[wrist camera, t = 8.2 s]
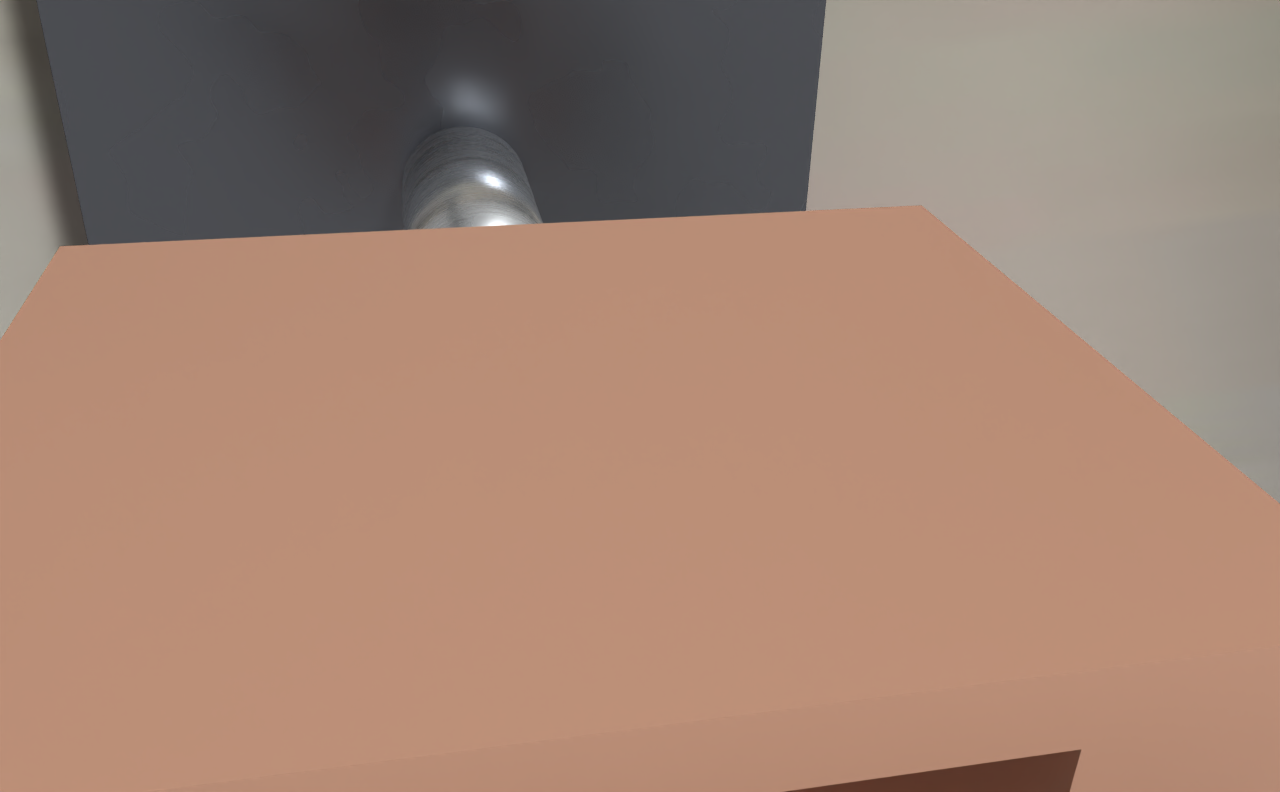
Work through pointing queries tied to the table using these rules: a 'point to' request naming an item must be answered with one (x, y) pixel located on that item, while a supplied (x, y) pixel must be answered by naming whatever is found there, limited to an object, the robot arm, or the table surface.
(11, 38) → the table surface
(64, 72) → the base plate
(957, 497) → the pink storage bin
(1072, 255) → the table surface
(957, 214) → the table surface
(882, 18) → the table surface
